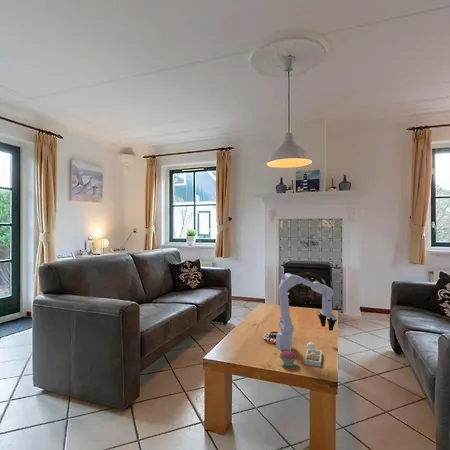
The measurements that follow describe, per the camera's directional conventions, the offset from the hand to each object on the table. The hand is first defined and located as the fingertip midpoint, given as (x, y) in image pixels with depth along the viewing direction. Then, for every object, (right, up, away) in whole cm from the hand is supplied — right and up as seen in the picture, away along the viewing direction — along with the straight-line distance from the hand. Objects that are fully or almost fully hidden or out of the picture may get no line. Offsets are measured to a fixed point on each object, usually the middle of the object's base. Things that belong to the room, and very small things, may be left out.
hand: (327, 328), depth 190 cm
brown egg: (-16, -10, -25) cm, 31 cm away
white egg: (-13, -10, -10) cm, 19 cm away
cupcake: (-30, -10, -27) cm, 41 cm away
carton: (-14, -10, -21) cm, 28 cm away
